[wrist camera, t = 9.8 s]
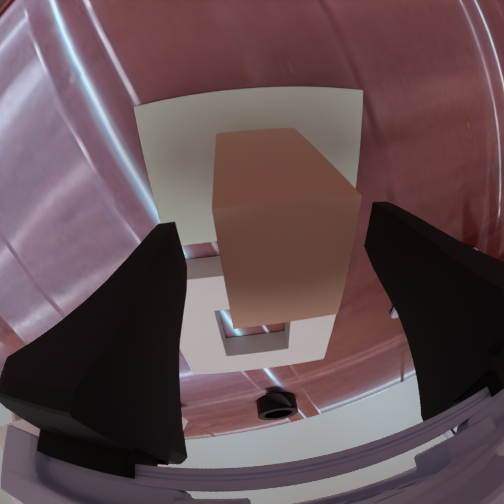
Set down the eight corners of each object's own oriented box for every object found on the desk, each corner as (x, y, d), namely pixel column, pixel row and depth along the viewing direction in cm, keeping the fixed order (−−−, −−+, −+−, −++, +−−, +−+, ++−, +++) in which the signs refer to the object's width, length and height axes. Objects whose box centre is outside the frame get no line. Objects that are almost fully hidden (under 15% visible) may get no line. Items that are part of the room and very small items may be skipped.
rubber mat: (359, 89, 12) (363, 90, 12) (347, 223, 18) (350, 226, 18) (135, 105, 12) (133, 107, 11) (168, 243, 17) (167, 247, 17)
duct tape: (315, 384, 35) (319, 402, 33) (281, 408, 41) (283, 423, 38) (267, 382, 33) (270, 402, 31) (239, 406, 38) (240, 423, 36)
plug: (293, 127, 13) (361, 195, 7) (293, 208, 16) (337, 313, 10) (216, 133, 13) (211, 209, 7) (227, 215, 16) (233, 328, 10)
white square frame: (338, 242, 19) (348, 260, 17) (318, 342, 27) (323, 358, 25) (153, 263, 18) (148, 283, 17) (194, 357, 26) (193, 374, 25)
